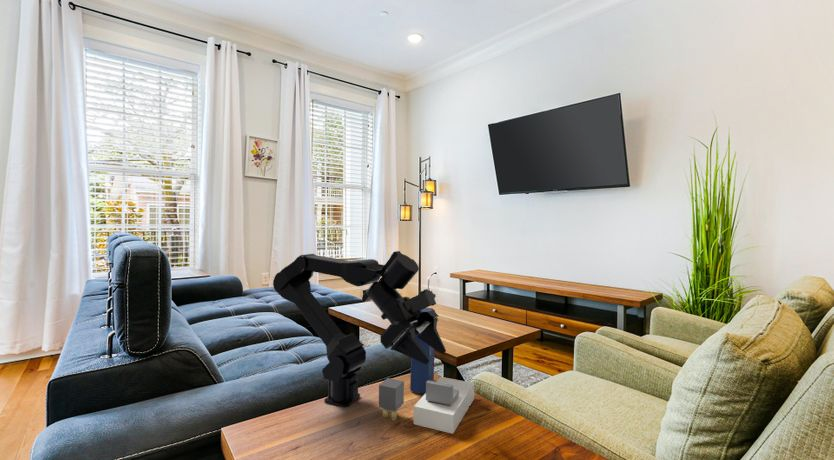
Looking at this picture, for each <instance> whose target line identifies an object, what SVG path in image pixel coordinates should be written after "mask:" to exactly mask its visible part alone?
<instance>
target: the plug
mask: <svg viewBox="0 0 834 460" xmlns="http://www.w3.org/2000/svg"><path fill="white" fill-rule="evenodd" d="M404 386H405V380H399V379H395V378H389V377H387V378H385V379H384V380H383V381H382V382H381V383H380V384H378V408H380V409H382V418H384V419H387V418H389V411H390V414H391V415H390V416H391V417H390V418H391V420H392V421H396V420H397V418H398V415H397V414H398V413H397V411H398V410H399V409H400V407H401V406H403V404H404V401H405V400H404V399H405V398H404V397H405V390H404V389H405V387H404Z"/></svg>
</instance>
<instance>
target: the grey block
mask: <svg viewBox="0 0 834 460" xmlns="http://www.w3.org/2000/svg"><path fill="white" fill-rule="evenodd" d="M458 395H459V390H454V389H453V385H449V384H444V383H439V382H436V381H434V380H433V381H429V380H428V381H427V382H426V400H429V401H433V402H438V403H442V404H447V405H452V404H453V402H454V401H455V399H456V398H457V397H458Z"/></svg>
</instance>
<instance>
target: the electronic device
mask: <svg viewBox="0 0 834 460" xmlns="http://www.w3.org/2000/svg"><path fill="white" fill-rule="evenodd" d="M426 310H434V311H435V312H436V310H435V309H434V308H432V307H427V308H425V309H422V310H421V311H422V312H423V311H426ZM417 336H418V335H417V334H415V339H416V340H417V342H418V343H419V345H420V346H421V348H422V349H423V351H424V352H425V353H426V355H427V357H428V358H429V360H430V362H429V363H428V364H427V365H425V364H423V363H421V362H419V361H417V360H415V359H413V358H411V357H410V360H411V364H410V387H409V388H410V392H412V393H413V394H422V395H424V394H425V393H426V382H427V381H428V380H429V381H434V379H435V349H434V348H432V347H431V346H429V345H428V344H426V343H425V342H423V341H422V340H420V339H419V338H417Z"/></svg>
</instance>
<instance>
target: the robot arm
mask: <svg viewBox="0 0 834 460" xmlns="http://www.w3.org/2000/svg"><path fill="white" fill-rule="evenodd" d="M419 268H420V267H419V264H418V263H417V262H416V261H415V260H414V259H413V258H411V257H409V256H408V255H406V254H404V253H402V252H401V251H400V250H397V251H396V250H395V251H393V252H392V253H391V255H390V257H389V259H388V260H387V261H386V263H385V264H381V263H379V261H377V260H376V259H372V258H368V259H355V260H353V259H352V260H347V259H340V258H336V257H335V258H334V257H328V256H322V255H317V254H314V253H307V254H300V255H299V256H297V257H296V258H295V259H294V261H292V262H291V263H290V264H288V265H286V266H285V267H284V268H283V267H282V269H281V270H280V271H279V272H277V273H276V274H275V276H274V277H273V281H272V285H273V289H274V290H275V292H276V293H278V295H279V296H280V297H281V298H283V299H284V300H286V301H288V302H290V303H292V304H294V305H295V306H296V307H297V309H298V310H299V312H300V313H301V314H302V316H303V317H304V318H305V320H306V321H307V322H308V323H309V325H310V326H311V328H312V329H313V330H314V332H315V333H316V334H317V336H318V337H319V338H320V340H321V341H322V342H323V344H324V345H325V347H326V356H327V357H326V358H327V361H328V363H327V364H325V366H324V367H323V368H322V371H321V372H322V376H323V379H325V380H328V382H327V383H328V386H327V387H328V390H327V391H328V393H327V394H328V396H327V397H325V398H324V402H325V403H328V404H332V405H336V406H339V407H344V408H346V407H349V406H350V405H351V404H352V403H353V402H355V401H356V400H358V399H359V398H360V397H361V394H360V393H359V381H358V379H357V378H358V377H357V376H358V374H357V373H358V372H360V371H362V367H363V365H364V364H365V362H366V360H367V356H366V355H367V352H366V349H365V348H364V346H365V344H364V343H363V342H361V341H360V340H359V338H358V336H357V335H356V334H355V333H350V334H345V333H344V332H343V331H342V330H341V329H340V327H338V325H337V323H335V321H334V320H333V318H332V317H330V315H329V314H328V312H327V311H326V310H325V308H323V306H322V305H321V303H320V302H319V301H318V299H317V298H316V296H314V294H313V293H312V291H311V290H312V289H311V281H310V279H312V277H313V276H314V273H318V274H322V275H329V276H333V277H334V276H335V277H338V278H341V279H343V281H345V283H348V284H350V285H352V286H355V287H363V286H367V285H370V284H371V285H370V286H369V287H368V288H366V289H363V290H362V296H361V302H362V303H366V302H370V301H372V302H373V304H374V305H375V306H376V307H377V308H378V310H379V311H381V313H382V314H381V315H380V318H381V319H382V320H383V321H384V320H387V321H389V323H390V324H389V326H388V327H387V328H386V329H385V330H384V331H383V332H382V333H381V334H380V338H379V339H380V340H379V341H380V343H381V345H382V346H383V347H384V348H385V350H387V349H389V348H390V351H395V352H397V353H400V354H402V355H405V356H407V357H409V358H410V359H411V358H413V359H415V360H417V361H419V362H421V363H423V364H425V365H427V364H428V363H429V362H430V360H429V358H428V357H427V355H426V353H425V352H424V351H423V349H422V348H421V346H420V345H419V343H418V342H417V340H416V339H415V334H417V335H418V336H417V338H419V339H420V340H422V341H423V342H425V343H426V344H428V345H429V346H431V347H432V348H434V351H436V352H438V353H440V354H441V355H444V354H445V353H446V352H447V350H446V348H445V346H444V343H443V341H442V339H441V337H440V335H439V332H438V329H437V324H438V322H439V319H438V318H439V315H438V313H437V312H436V310H435V309H434V310H435V311H434V310H426V311H423V312H422V311H421V310H422V309H425V308H430V307H431V306H432V307H433V306H435V305H437V302H436V300H435V298H436V297H437V296H436V295H437V294H435V293H433V291H432V290H429V289H428V288H425V289H423V290H421V291H419V293H418V294H416V295H414V296H413V297H409V296H404V297H403V296H402V295H401V294H400V292H399V291H398V290H397V289H399V290H403V289H405V287H406V286H407V285H408V284H409V283H410V282H411V280H412V279H413V278H414V277H415V275H416V274H418V272H419V271H420V269H419Z"/></svg>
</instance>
